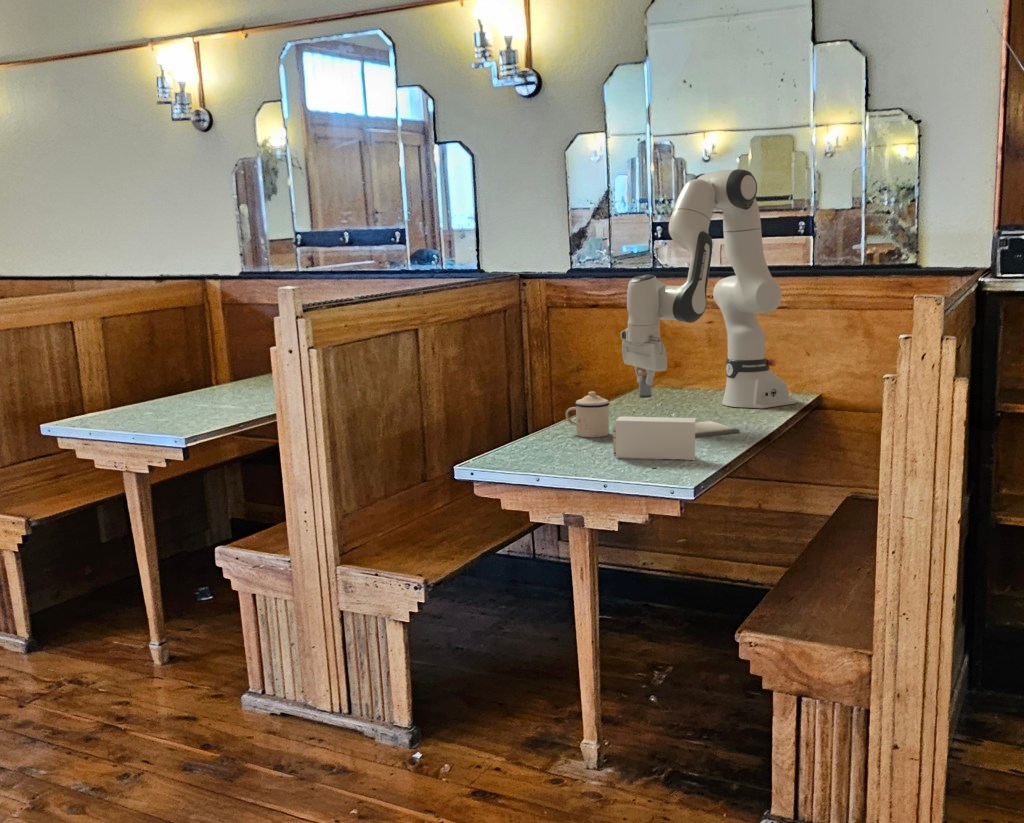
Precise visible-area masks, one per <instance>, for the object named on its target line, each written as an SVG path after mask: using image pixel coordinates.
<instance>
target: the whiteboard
mask: <svg viewBox="0 0 1024 823" xmlns="http://www.w3.org/2000/svg"><path fill="white" fill-rule="evenodd" d="M740 432H741V430H740V429H739V428H736V427H732V426H729V425H726V424H723V423H719V422H717V421H713V420H709V421H699V422H697V421H695V438H700V437H701V438H702V437H711V436H719V435H729V434H737V433H740Z"/></svg>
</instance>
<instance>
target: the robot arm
mask: <svg viewBox="0 0 1024 823" xmlns="http://www.w3.org/2000/svg"><path fill="white" fill-rule="evenodd" d="M757 192H758V183H757V180H756V178H755V176H754V175H753V173H752V172H751V171H749V170H746V169H742V168H741V169H739V168H738V169H723V170H717V171H712V172H707V173H700V174H697V175H695V176H693V177H692V178H691V179H690V180H688V181H687V182H685V184H684V185H683V188H681V191H680V193H679V194H678V197H677V200H676V201H675V204H674V207H673V209H672V211H671V212H672V213H671V215H670V218H669V223H668V234H669V236H670V238H671V239H672V241H673V242H674V243H675V244H677V246H679V247H680V248H683V249H684V250H686V251H688V252H689V253H690V262H689V267H688V268H689V269H688V273H687V279H686V282H684V284H682V285H671V284H666V283H663V282H661V281H660V280H658V279H657V277H656V276H655V275H654V274H641V275H636V276H634V277H633V278H631V279H630V280H629V282H628V285H627V291H626V309H627V310H626V311H627V314H628V319H627V327H626V328H625V329H624V330H622V331H621V332H620V334H619V335H620V339H621V340H622V341H621V354H622V361H623V363H624V365H627V366H632V367H634V372H635V375H636V382H637V383H638V384H639V373H638V370H642V369H646V373H647V378H646V379H645V384H646V385H651V386H652V385H654V377H655V375H656V372H665V371H667V369H668V357H667V349H666V345H665V344H664V342H663V340H662V338H661V328H660V326H661V325H660V320H667V321H678V322H683V323H689V324H693V323H695V322H696V321H698V320H699V319H700V318H701V317H702V316H703V314H704V313H705V311H706V308H707V302H708V300H707V288H708V282H709V276H710V268H711V264H712V263H711V262H712V257H713V256H712V255H713V248H714V247H713V239H712V236H711V235H710V234H709V228H710V223H711V221H712V216H713V213H714V211H721V212H722V213H723V215H722V229H723V230H722V232H723V243H724V244H723V245H724V256H725V258H726V260H727V262H728V263H729V264H730V266H731V267H732V269H733V271H734V275H730V276H727V277H723V278H721V279H719V280H718V281H717V282H716V283H715V285H714V288H713V291H712V294H713V295H712V297H713V300H714V302H715V304H716V305H717V307H718V308H719V309H720V311H721V314H722V317H723V320H724V324H725V329H726V334H727V335H726V337H727V357H726V360H725V373H726V381H725V382H726V383H725V390H724V395H723V399H722V402H721V404H722V405H723V406H727V407H733V408H734V407H735V408H746V409H747V408H751V409H752V408H754V409H767V408H768V409H769V408H775V407H780V406H787V405H793V404H794V405H795V404H796V403H797V399H795V398H794V397H790V396H789V388H788V387H789V386H788V385H787V382H786V381H785V380H783V379H782V378H781V377H779V376H778V375H777V374H775V373H774V372H773V371H772V370H770V368H771V367H776V365H777V361H776V359H772V358H770V359H769V358H766V356H765V354H766V348H765V347H766V334H765V333H766V332H765V330H764V329H763V328H762V327H761V325H760V324H759V321H758V319H757V315H760V314H766V313H770V312H773V311H775V310H776V309H778V307H779V306H780V304H781V302H782V299H783V298H782V297H783V293H782V291H783V290H782V288H781V286H780V284H779V283H778V282H777V281H776V280H775V279H774V277H773V276H772V274H771V272H770V269H769V267H768V265H767V262H766V258H765V255H764V254H765V253H764V246H763V236H762V234H763V233H762V221H761V213H760V209H759V205H758V201H757V198H756V197H757Z"/></svg>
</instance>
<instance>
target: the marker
mask: <svg viewBox="0 0 1024 823" xmlns="http://www.w3.org/2000/svg"><path fill="white" fill-rule="evenodd" d="M638 373H639V383H638V396H639V398H642V399H644V398H645V399H646V398H647V399H648V398H652V397H653V396H652V395H653V394H652V385H646V384H645V379H646V378H647V373H646V369H642V370H638Z"/></svg>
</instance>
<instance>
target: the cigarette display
mask: <svg viewBox="0 0 1024 823" xmlns="http://www.w3.org/2000/svg"><path fill="white" fill-rule="evenodd" d="M696 422H697V417H664V416H663V417H659V416H655V417H654V416H619V417H618V418H617V419H616V420H615V425H614V426H613V427H612V434H613V435H612V436H613V438H612V442H613V443H612V444H613V446H612V448H613V450H612V451H613V455H615V459H629V460H630V459H633V460H634V459H635V460H637V459H638V460H659V459H660V460H661V459H681V460H680V461H683V460H682V459H685V460H684V461H690V460H695V461H696V458H697V454H696V437H695V423H696ZM695 457H696V458H695Z"/></svg>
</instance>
